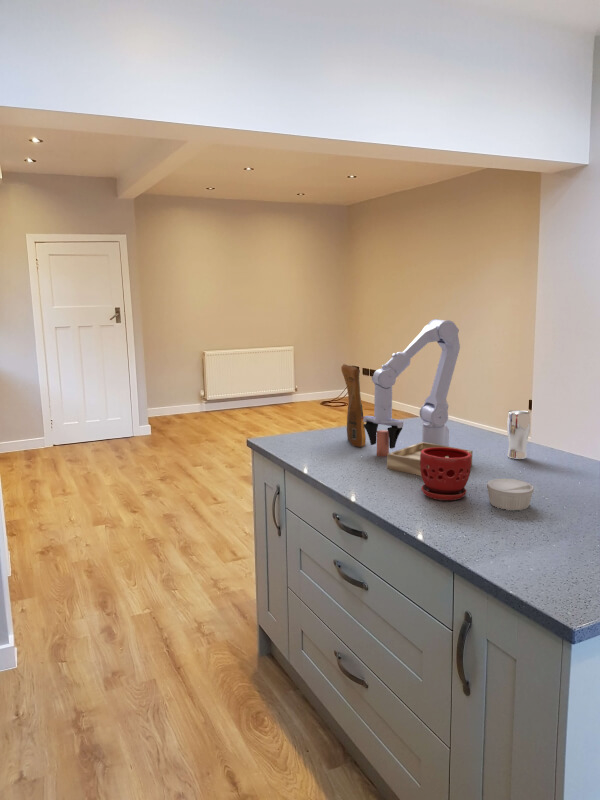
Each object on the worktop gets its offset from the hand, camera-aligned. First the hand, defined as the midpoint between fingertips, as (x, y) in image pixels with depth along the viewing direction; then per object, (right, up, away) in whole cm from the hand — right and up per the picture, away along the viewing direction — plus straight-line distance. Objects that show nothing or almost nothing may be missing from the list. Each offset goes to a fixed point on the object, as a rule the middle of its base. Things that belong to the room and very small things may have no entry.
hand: (382, 446), depth 203 cm
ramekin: (+26, -12, -48) cm, 55 cm away
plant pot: (+11, -10, -40) cm, 43 cm away
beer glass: (+43, -4, -5) cm, 43 cm away
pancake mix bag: (-8, 0, +18) cm, 20 cm away
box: (+13, -5, -14) cm, 19 cm away
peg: (0, -3, +1) cm, 3 cm away
